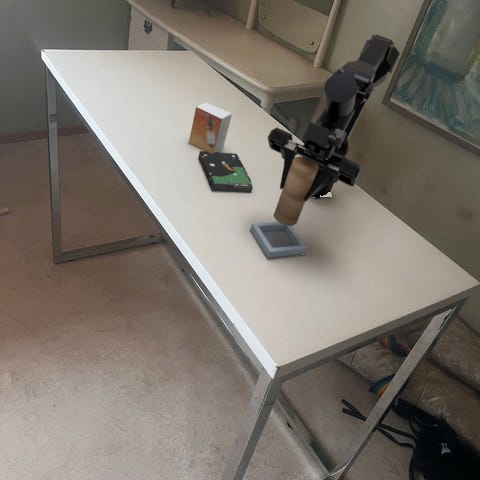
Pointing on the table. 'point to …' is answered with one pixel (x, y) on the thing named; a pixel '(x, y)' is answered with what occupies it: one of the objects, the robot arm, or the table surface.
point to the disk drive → (225, 172)
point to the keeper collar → (277, 240)
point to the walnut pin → (295, 190)
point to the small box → (209, 127)
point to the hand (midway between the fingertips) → (292, 194)
